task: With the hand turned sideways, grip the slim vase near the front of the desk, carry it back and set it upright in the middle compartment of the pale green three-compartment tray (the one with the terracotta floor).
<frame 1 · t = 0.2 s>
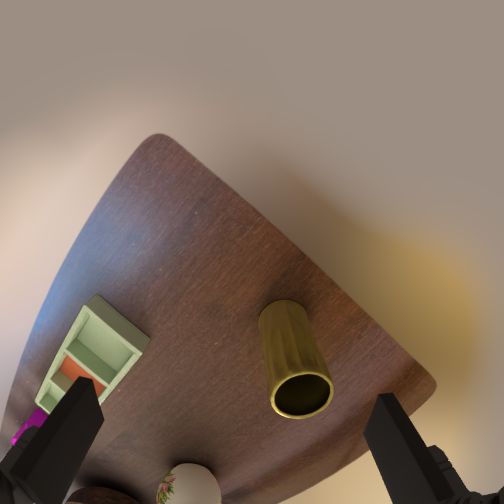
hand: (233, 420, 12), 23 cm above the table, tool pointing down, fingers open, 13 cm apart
bowl: (119, 496, 46), on the table
pitcher: (191, 473, 42), on the table
tray: (86, 370, 37), on the table
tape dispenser: (44, 433, 41), on the table
vase: (283, 321, 36), on the table
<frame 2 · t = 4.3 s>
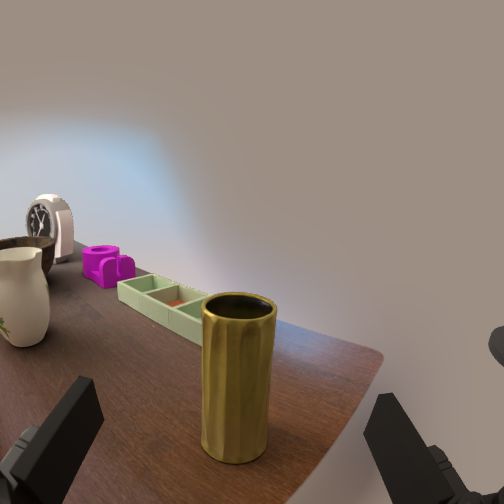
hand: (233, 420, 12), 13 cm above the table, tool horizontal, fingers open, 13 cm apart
bowl: (19, 287, 53), on the table
pitcher: (24, 335, 35), on the table
tray: (176, 314, 50), on the table
alarm clock: (51, 260, 76), on the table
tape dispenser: (106, 277, 67), on the table
vase: (233, 442, 23), on the table
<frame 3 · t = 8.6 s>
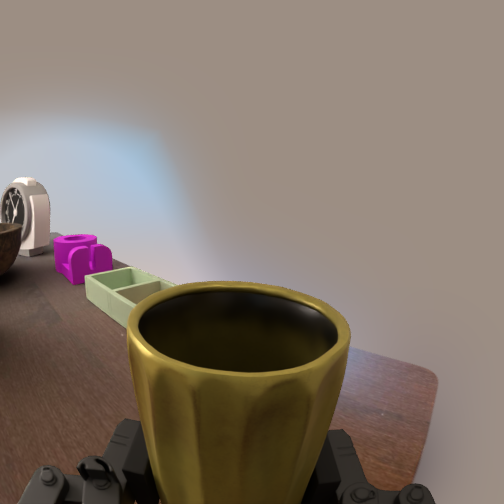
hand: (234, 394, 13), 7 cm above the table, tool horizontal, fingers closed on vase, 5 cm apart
tray: (154, 319, 37), on the table
alarm clock: (26, 253, 63), on the table
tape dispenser: (80, 271, 53), on the table
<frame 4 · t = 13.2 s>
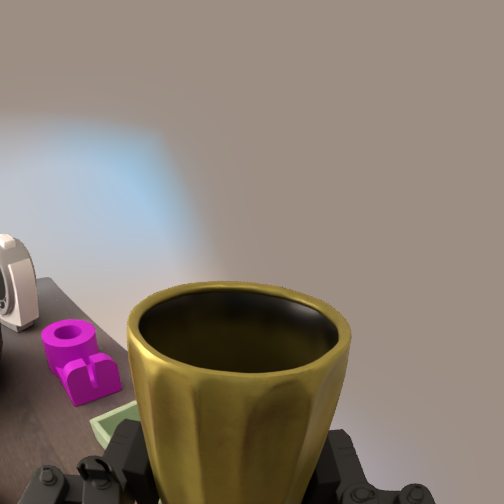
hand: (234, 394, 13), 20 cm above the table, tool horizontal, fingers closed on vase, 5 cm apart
tray: (192, 487, 23), on the table
alarm clock: (14, 323, 50), on the table
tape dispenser: (80, 372, 40), on the table
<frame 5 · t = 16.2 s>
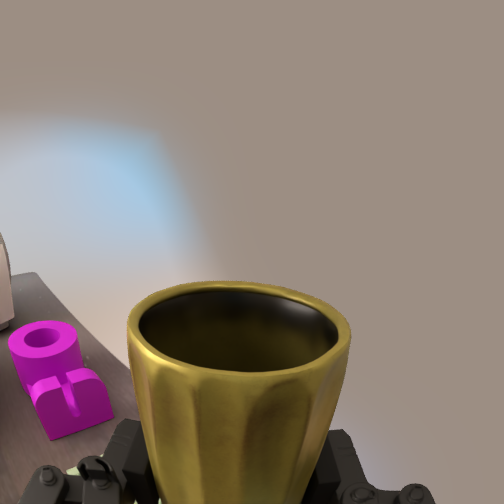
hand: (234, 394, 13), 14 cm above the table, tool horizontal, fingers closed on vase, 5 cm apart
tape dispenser: (59, 391, 28), on the table
when the fingers open (8 cm above the table, at t = 18.2 s): vase stays where it is, resting on tray.
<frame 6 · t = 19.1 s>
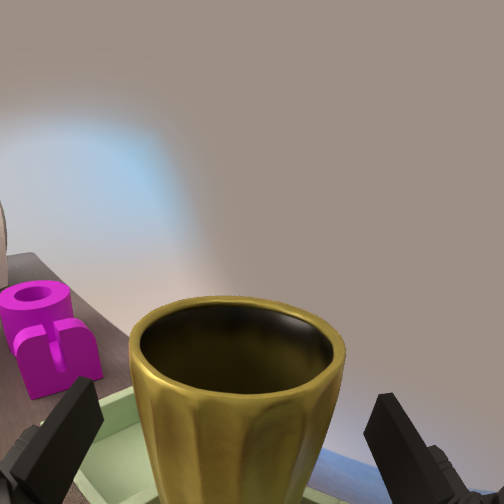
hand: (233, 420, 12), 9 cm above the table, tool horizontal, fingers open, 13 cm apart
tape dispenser: (47, 353, 27), on the table
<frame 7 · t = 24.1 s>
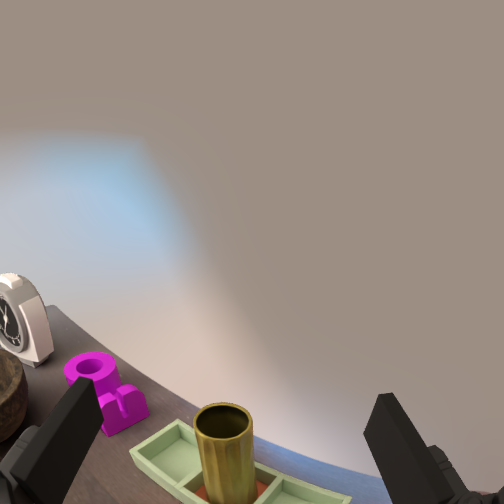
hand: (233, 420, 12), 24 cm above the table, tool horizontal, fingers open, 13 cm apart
tray: (232, 497, 26), on the table
alarm clock: (29, 358, 51), on the table
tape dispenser: (106, 402, 42), on the table
vase: (232, 495, 26), point 1 cm above the table, touching tray
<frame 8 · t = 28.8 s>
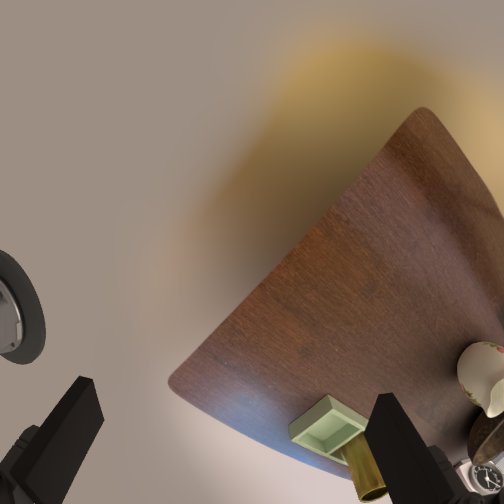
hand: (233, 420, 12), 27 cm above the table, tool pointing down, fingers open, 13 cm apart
bowl: (487, 411, 47), on the table
pitcher: (471, 358, 43), on the table
tray: (352, 435, 45), on the table
alarm clock: (465, 463, 53), on the table
vase: (353, 437, 44), point 1 cm above the table, touching tray
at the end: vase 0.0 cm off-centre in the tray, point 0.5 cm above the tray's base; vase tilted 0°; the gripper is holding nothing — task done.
